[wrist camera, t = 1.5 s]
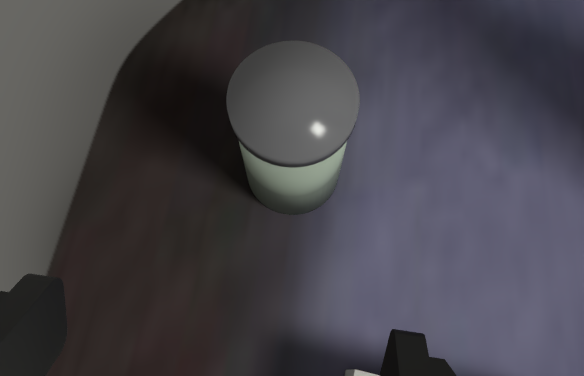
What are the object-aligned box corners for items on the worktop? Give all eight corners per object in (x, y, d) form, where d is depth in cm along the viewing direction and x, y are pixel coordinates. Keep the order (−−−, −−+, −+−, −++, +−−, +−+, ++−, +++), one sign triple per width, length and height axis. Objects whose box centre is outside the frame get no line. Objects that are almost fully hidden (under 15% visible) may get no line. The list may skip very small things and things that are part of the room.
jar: (313, 111, 37) (320, 21, 27) (359, 191, 35) (384, 124, 26) (228, 150, 36) (205, 72, 26) (270, 234, 34) (261, 182, 25)
